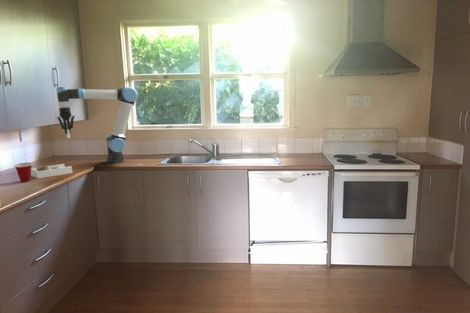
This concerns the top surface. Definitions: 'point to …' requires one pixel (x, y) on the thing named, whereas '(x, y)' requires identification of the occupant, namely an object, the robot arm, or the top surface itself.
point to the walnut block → (42, 168)
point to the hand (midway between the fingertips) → (68, 137)
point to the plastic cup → (24, 171)
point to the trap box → (51, 171)
